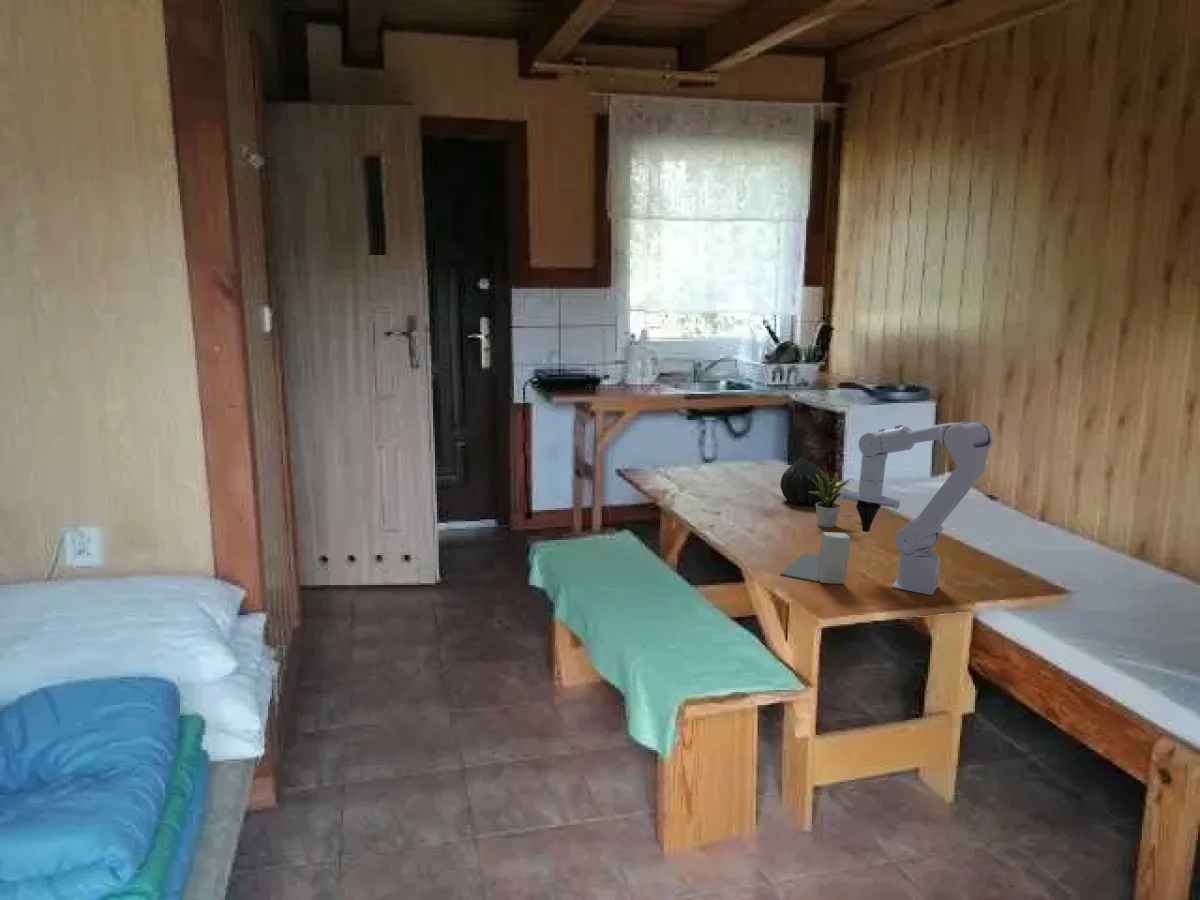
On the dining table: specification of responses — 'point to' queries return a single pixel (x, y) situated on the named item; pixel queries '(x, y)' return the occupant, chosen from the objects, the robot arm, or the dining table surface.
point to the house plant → (828, 501)
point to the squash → (802, 482)
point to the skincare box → (833, 557)
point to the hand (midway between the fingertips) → (866, 530)
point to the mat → (803, 568)
